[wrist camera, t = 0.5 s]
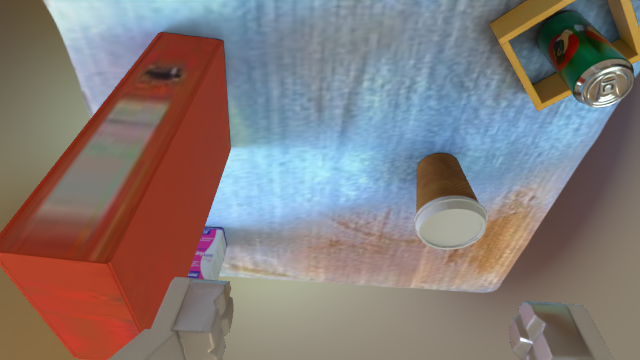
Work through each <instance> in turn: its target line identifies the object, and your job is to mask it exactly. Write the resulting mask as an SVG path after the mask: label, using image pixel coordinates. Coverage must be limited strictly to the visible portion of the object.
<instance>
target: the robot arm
mask: <svg viewBox="0 0 640 360" xmlns="http://www.w3.org/2000/svg"><path fill="white" fill-rule="evenodd" d="M230 291H231V286H230V282H229V281H218V280H208V279H197V278H185V277H175V278H174V279H173V280H172V281H171V283H170V285H169V288H168V290H167V292H166V295H165V297H164V299H163V302H162V304H161V306H160V308H159V311H158V313H157V315H156V318H155V320H154V322H153V325H152V327H151V329H145V330H143V331H142V332H141V333H140V334H139V335H137V336H136V337H135V338H134V339H132V340H131V341H130V342H129V343H128V344H126V345H125V346H124V347H123V348H121V349H120V350H119V351H118V352H117V353H115V354H114V355H113V356H112V357H111V358H109V359H108V360H222V359H223V355H224V352H225V348H226V345H225V340H224V336H226V335H227V334H228V333H229V332H230V328H231V324H232V318H233V299H232V298H231V297H230V296H229V295H230ZM519 312H520V315H518V316H516V317H514V318H513V319H512V321H511V323H510V325H509V341H510V345H511V348H512V351H513V353H514V354H515V355H516V356H517V357H518V358H519V359H520V360H615V359H614V357H613V356H612V354H611V352H610V350H609V348H608V346H607V345H606V343H605V341H604V339H603V337H602V336H601V334H600V332H599V330H598V328H597V327H596V325H595V323H594V321H593V319H592V317H591V316H590V314H589V312H588V310H587V309H586V308H585V307H584V306H583V305H575V304H561V303H549V302H531V301H525V302H523V303H522V304H521V305H520V307H519Z"/></svg>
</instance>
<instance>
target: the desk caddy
mask: <svg viewBox="0 0 640 360" xmlns="http://www.w3.org/2000/svg"><path fill="white" fill-rule="evenodd" d="M574 1H575V0H526V1H525V2H523V3H522V4H520V5H518V6H517V7H515V8H514V9H512V10H511V11H509V12H507V13H506V14H504V15H503V16H501V17H500V18H498V19H496V20H495V21H493V22H492V23H490V24H489V25H490V27H491V29H492V31H493V33H494V34H495V36H496V38H497V40H498V42H499V43H500V45H501V47H502V49H503V51H504V52H505V54H506V56H507V58H508V60H509V61H510V63H511V65H512V67H513V69H514V70H515V72H516V74H517V76H518V78H519V79H520V81H521V83H522V85H523V86H524V88H525V90H526V92H527V94H528V95H529V97H530V99H531V101H532V102H533V104H534V106H535V108H536V109H537V111H540V110H542V109H544V108H546V107H548V106H550V105H552V104H554V103H556V102H558V101H560V100H562V99H564V98H565V97H567V96H569V95H571V94H572V93H571V91H570V90H569V89H568V87H567V86H566V85H565V83H564V82H563V80H562V79H561V78H560V76H559V75H558V74H557V73H555V74H553V75H551V76H549V77H547V78H546V79H544V80H542V81H540V82H538V83H536V84H534V85H532V84H531V82H530V80H529V78H528V76H527V75H526V73H525V71H524V69H523V67H522V65H521V63H520V62H519V60H518V58H517V56H516V54H515V52H514V50H513V49H512V47H511V45H510V43H509V40H511V39H512V38H514V37H516V36H517V35H519V34H521V33H522V32H524V31H526V30H527V29H529V28H530V27H532V26H534V25H535V24H537V23H539V22H540V21H542V20H544V19H545V18H547V17H549V16H550V15H552V14H554V13H555V12H557V11H559V10H560V9H562V8H564V7H565V6H567V5H569V4H570V3H572V2H574ZM607 1H608V4H609V7H610V10H611V13H612V16H613V19H614V21H615V24H616V27H617V30H618V33H619V36H620V39H618V40H617V41H615V42H613V43H611V44H612V45H613V46H614V47H615V48H616V49H617V50H618V51H619V52H620V53H621V54H622V55H623V56H624V57H625V58H626V59H627V60H628V61H629V62H630V63H631V64H633V63H635V62H637V61H639V60H640V29H639V25H638V22H637V19H636V16H635V12H634V9H633V6H632V3H631V0H607Z"/></svg>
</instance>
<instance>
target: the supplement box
mask: <svg viewBox="0 0 640 360" xmlns="http://www.w3.org/2000/svg"><path fill="white" fill-rule="evenodd" d="M226 249H227V242H226V238H225V234H224V230H223V228H210V227H204V230H203V233H202V236H201V239H200V241H199V244H198V247H197V250H196V253H195V256H194V259H193V262H192V265H191V268H190V271H189V274H188V277H187V278H197V279H208V280H218V277H219V274H220V270H221V267H222V263H223V260H224V256H225V253H226Z"/></svg>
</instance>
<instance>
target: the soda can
mask: <svg viewBox="0 0 640 360" xmlns="http://www.w3.org/2000/svg"><path fill="white" fill-rule="evenodd" d="M537 43H538V47H539V49H540V50H541V51H542V53H543V54H544V56H545V57H546V58H547V60H548V61H549V62H550V64H551V65H552V67H553V68H554V69H555V71H556V72H557V74H558V75H559V76H560V78H561V79H562V80H563V82H564V83H565V85H566V86H567V87H568V89H569V90H570V91H571V93H572V94H573V96H574V97H575V98H576V100H578V101H579V102H581V103H583V104H586V105H588V106H591V107H606V106H609V105H612V104H614V103H616V102H618V101H619V100H621V99H622V98H624V97H625V96H626V95H627V94H628V93H629V92H630V90H631V89H632V87H633V84H634V81H635V77H634V69H633V66H632V64H631V63H630V62H629V61H628V60H627V59H626V58H625V57H624V56H623V55H622V54H621V53H620V52H619V51H618V50H617V49H616V48H615V47H614V46H613V45H612V44H611V43H610V42H609V41H608V40H607V39H606V38H605V37H604V36H603V35H602V34H601V33H600V32H599V31H598V30H597V29H596V28H595V27H594V26H593V25H592V24H591V23H590V22H589V21H588V20H587V19H585V18H584V17H583V16H582V15H581V14H579V13H577V12H564V13H561V14H558V15H556V16H555V17H553V18H551V19H550V20H549V21H548V22H547V23H546V24H545V25H544V26H543V27H542V29H541V30H540V32H539V35H538V39H537Z"/></svg>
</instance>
